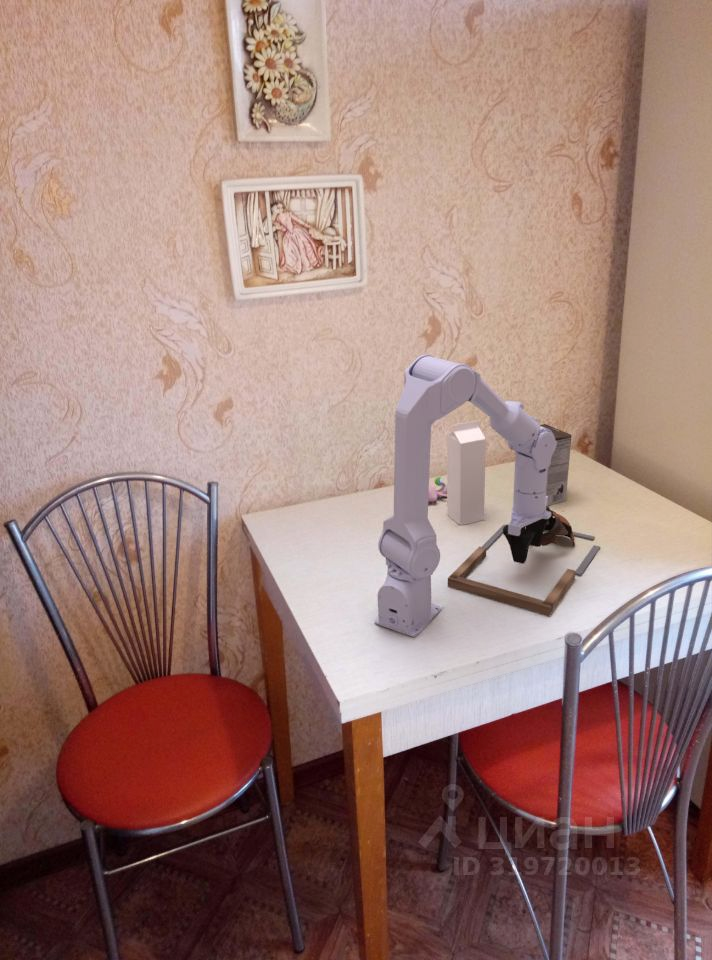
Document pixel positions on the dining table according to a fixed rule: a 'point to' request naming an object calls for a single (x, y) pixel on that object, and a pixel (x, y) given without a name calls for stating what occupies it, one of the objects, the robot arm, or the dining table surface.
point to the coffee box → (558, 467)
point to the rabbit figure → (435, 493)
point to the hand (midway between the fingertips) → (526, 553)
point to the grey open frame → (579, 535)
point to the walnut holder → (505, 596)
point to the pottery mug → (556, 530)
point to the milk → (466, 473)
